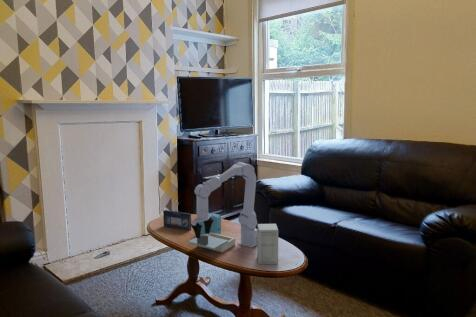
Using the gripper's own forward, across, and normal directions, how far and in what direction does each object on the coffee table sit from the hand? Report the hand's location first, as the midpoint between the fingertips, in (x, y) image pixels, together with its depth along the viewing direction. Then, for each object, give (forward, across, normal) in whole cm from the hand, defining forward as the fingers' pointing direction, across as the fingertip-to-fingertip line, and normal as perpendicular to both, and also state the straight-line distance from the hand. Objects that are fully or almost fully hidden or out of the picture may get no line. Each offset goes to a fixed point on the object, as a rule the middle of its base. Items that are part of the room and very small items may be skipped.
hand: (202, 235), depth 187 cm
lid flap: (+5, -4, 0) cm, 7 cm away
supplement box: (+10, -10, +31) cm, 34 cm away
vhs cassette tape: (+10, -21, -36) cm, 43 cm away
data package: (+10, -23, -13) cm, 28 cm away
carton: (+9, -11, 0) cm, 15 cm away
